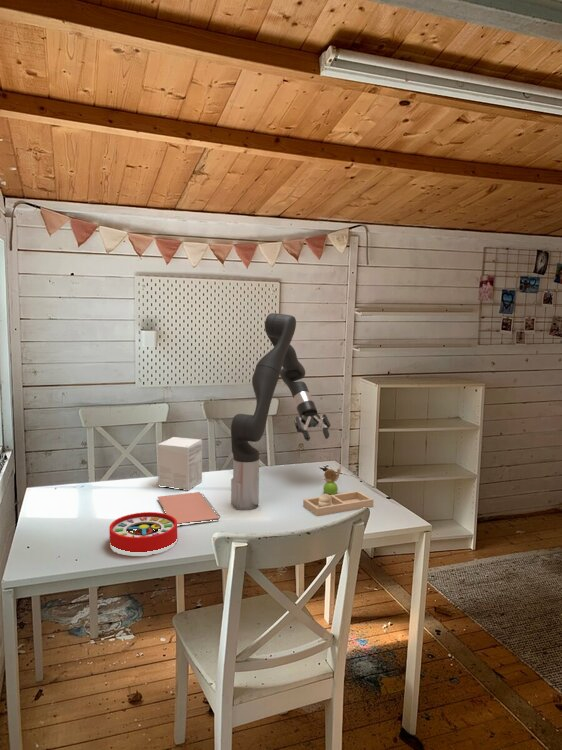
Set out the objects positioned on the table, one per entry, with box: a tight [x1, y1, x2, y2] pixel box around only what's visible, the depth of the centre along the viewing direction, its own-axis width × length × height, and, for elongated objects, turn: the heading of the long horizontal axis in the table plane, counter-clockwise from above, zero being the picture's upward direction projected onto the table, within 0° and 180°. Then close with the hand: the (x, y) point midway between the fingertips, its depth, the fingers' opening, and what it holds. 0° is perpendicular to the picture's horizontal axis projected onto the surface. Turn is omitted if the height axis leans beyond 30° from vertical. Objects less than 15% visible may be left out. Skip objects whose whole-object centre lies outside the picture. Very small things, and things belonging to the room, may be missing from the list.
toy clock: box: [108, 511, 178, 552], centre depth 172 cm, size 20×6×20 cm
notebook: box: [157, 491, 221, 524], centre depth 199 cm, size 27×17×2 cm, turn 22°
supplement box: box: [157, 436, 203, 491], centre depth 226 cm, size 13×13×18 cm
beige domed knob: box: [318, 493, 332, 507], centre depth 200 cm, size 5×5×5 cm
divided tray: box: [302, 490, 374, 517], centre depth 203 cm, size 23×10×4 cm, turn 116°
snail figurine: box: [323, 464, 342, 495], centre depth 216 cm, size 5×6×12 cm
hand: (318, 438), depth 224 cm, fingers open, 8 cm apart
